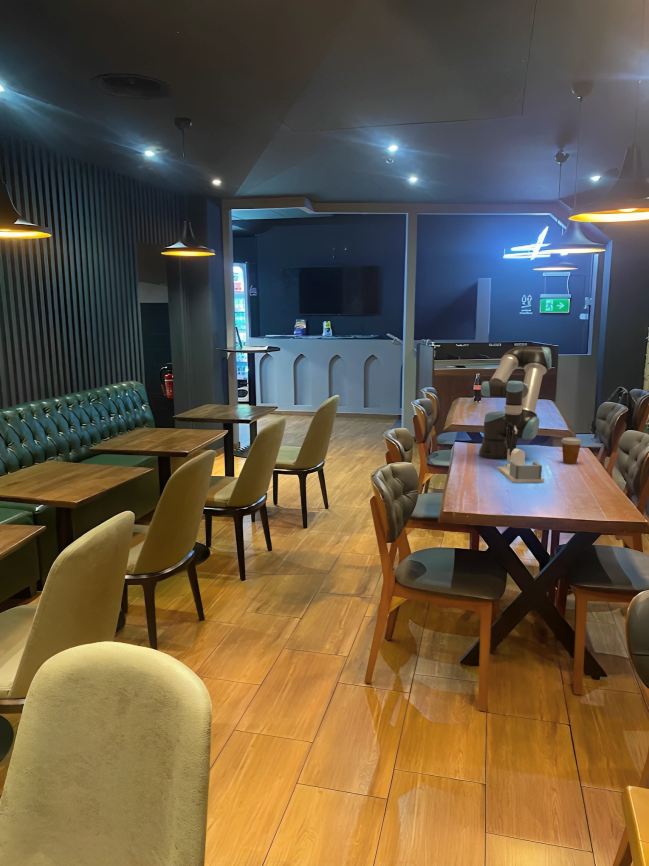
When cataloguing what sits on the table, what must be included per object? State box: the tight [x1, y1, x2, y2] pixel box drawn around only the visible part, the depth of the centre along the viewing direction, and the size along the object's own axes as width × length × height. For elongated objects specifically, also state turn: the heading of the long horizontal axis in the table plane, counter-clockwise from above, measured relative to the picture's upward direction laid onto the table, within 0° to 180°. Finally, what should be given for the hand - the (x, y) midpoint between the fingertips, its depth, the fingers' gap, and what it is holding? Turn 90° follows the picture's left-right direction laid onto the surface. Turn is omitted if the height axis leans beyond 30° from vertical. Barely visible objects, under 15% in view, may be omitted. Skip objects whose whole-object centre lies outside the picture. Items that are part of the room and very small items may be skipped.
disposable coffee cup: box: [560, 436, 583, 465], centre depth 311 cm, size 10×10×12 cm
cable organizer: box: [506, 448, 526, 469], centre depth 290 cm, size 5×10×10 cm, turn 14°
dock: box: [497, 460, 545, 483], centre depth 287 cm, size 23×14×8 cm, turn 1°
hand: (510, 461), depth 301 cm, fingers closed
